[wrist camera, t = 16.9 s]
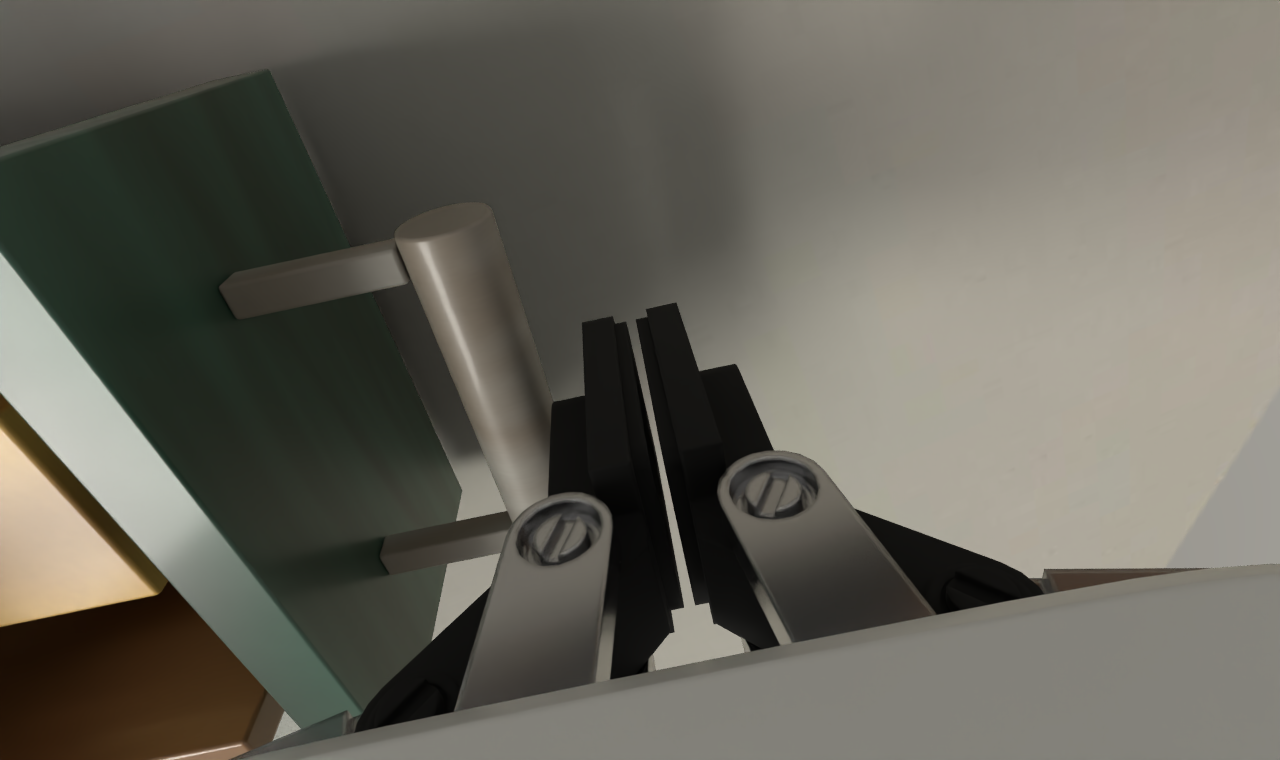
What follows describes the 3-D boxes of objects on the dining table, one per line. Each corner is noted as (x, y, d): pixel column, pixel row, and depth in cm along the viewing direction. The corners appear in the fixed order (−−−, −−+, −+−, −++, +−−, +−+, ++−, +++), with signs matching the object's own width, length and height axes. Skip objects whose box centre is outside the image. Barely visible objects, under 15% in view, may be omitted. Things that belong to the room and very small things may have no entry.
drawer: (481, 21, 12) (385, 77, 6) (604, 460, 19) (625, 725, 12) (-383, 212, 13) (-1375, 463, 6) (20, 581, 19) (-267, 901, 12)
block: (-49, 338, 14) (-275, 473, 10) (149, 295, 14) (-6, 416, 10) (85, 487, 16) (-58, 640, 12) (255, 452, 16) (160, 596, 12)
